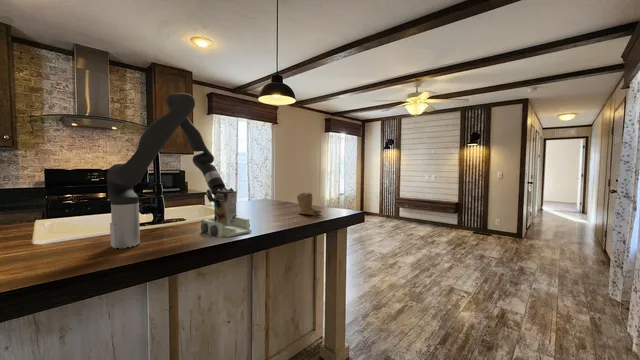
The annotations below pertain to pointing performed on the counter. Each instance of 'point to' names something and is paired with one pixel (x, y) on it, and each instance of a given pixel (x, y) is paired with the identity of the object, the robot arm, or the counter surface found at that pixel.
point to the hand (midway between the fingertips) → (227, 206)
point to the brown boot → (306, 204)
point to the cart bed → (225, 227)
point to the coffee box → (225, 207)
